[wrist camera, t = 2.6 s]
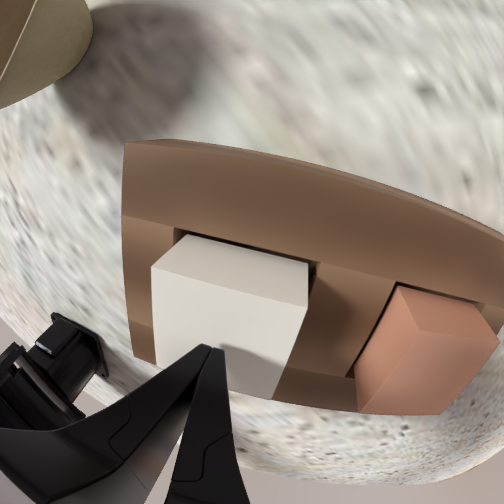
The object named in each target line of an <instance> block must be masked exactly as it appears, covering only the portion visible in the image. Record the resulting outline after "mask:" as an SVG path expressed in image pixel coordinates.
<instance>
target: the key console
mask: <svg viewBox="0 0 504 504" xmlns="http://www.w3.org/2000/svg"><path fill="white" fill-rule="evenodd" d="M121 225H122V257H123V274H124V286H125V297H126V306H127V314H128V322H129V329H130V336H131V342H132V348H133V354H134V357H137V358H139V359H141V360H144V361H146V362H149V363H151V364H154V365H156V366H157V364H156V354H155V343H154V330H153V314H152V289H151V266H152V265H153V264H154V263H156V262H157V261H158V260H159V259H160V258H161V257H162V256H163V255H164V254H165V253H166V252H168V251H169V250H170V249H171V248H172V247H173V246H174V245H175V244H176V243H178V242H179V241H180V240H181V239H182V238H183V237H184V236H185V235H187V234H188V235H192V236H197V237H201V238H205V239H209V240H213V241H217V242H221V243H226V244H230V245H234V246H238V247H242V248H246V249H250V250H255V251H259V252H263V253H267V254H271V255H275V256H279V257H283V258H288V259H292V260H296V261H300V262H304V263H308V308H307V311H306V314H305V317H304V319H303V322H302V325H301V327H300V330H299V333H298V335H297V338H296V340H295V343H294V346H293V348H292V351H291V353H290V356H289V358H288V360H287V363H286V365H285V368H284V370H283V373H282V375H281V377H280V380H279V382H278V384H277V387H276V389H275V391H274V394H273V396H272V398H271V400H275V401H280V402H285V403H291V404H296V405H302V406H308V407H315V408H322V409H329V410H338V411H347V412H358V403H357V392H356V383H355V374H354V365H355V363H356V361H357V360H358V358H359V357H360V355H361V353H362V351H363V350H364V348H365V346H366V345H367V343H368V341H369V339H370V338H371V336H372V334H373V332H374V330H375V328H376V327H377V325H378V323H379V321H380V319H381V317H382V315H383V313H384V311H385V309H386V307H387V305H388V303H389V301H390V299H391V297H392V295H393V293H394V291H395V288H396V286H397V285H398V286H402V287H406V288H410V289H414V290H418V291H422V292H426V293H431V294H435V295H439V296H443V297H447V298H451V299H455V300H459V301H463V302H467V303H471V304H474V305H475V307H476V308H477V309H478V311H479V312H480V313H481V315H482V316H483V318H484V319H485V320H486V322H487V323H488V325H489V326H490V328H491V329H492V331H493V332H494V333H495V335H497V334H498V332H499V331H500V329H501V327H502V326H503V324H504V235H503V234H501V233H500V232H498V231H496V230H494V229H492V228H490V227H488V226H486V225H484V224H482V223H480V222H478V221H476V220H473V219H471V218H469V217H467V216H465V215H463V214H460V213H458V212H456V211H453V210H451V209H449V208H446V207H444V206H442V205H439V204H437V203H434V202H432V201H429V200H427V199H424V198H421V197H419V196H416V195H413V194H411V193H408V192H405V191H402V190H400V189H397V188H394V187H391V186H388V185H385V184H382V183H379V182H376V181H373V180H369V179H366V178H363V177H360V176H356V175H353V174H350V173H346V172H343V171H339V170H335V169H332V168H328V167H324V166H320V165H316V164H312V163H308V162H304V161H300V160H296V159H291V158H287V157H282V156H278V155H273V154H268V153H263V152H258V151H252V150H247V149H241V148H235V147H229V146H223V145H216V144H209V143H202V142H194V141H186V140H177V139H158V140H146V141H135V142H126V143H125V148H124V160H123V176H122V208H121Z"/></svg>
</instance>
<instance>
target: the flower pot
mask: <svg viewBox="0 0 504 504" xmlns="http://www.w3.org/2000/svg"><path fill="white" fill-rule="evenodd" d="M92 34H93V22H92V18H91V15H90V12H89V9H88V7H87V4H86V2H85V0H0V109H2V108H4V107H7V106H9V105H11V104H14V103H16V102H18V101H20V100H22V99H24V98H26V97H28V96H30V95H32V94H34V93H36V92H38V91H40V90H42V89H44V88H45V87H47V86H49V85H50V84H52V83H54V82H55V81H57V80H59V79H60V78H62V77H63V76H65V75H66V74H68V73H69V72H70V71H71V70H73V69H74V68H75V67H76V65H77V64H78V63H79V62H80V60H81V59H82V58H83V56H84V54H85V53H86V51H87V49H88V47H89V44H90V41H91V38H92Z"/></svg>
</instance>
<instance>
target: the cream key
mask: <svg viewBox="0 0 504 504" xmlns="http://www.w3.org/2000/svg"><path fill="white" fill-rule="evenodd" d="M151 289H152V314H153V330H154V343H155V354H156V364H157V367H160V368H162V369H166V368H167V367H168V366H170V365H171V364H173V363H174V362H175V361H177V360H178V359H180V358H181V357H182V356H184V355H185V354H187V353H188V352H189V351H191V350H192V349H193V348H195V347H196V346H198V345H199V344H201V343H203V344H206V345H209V346H211V347H212V348H213V347H216V348H220V349H223V350H224V351H225V361H226V373H227V384H228V390H230V391H234V392H238V393H242V394H246V395H250V396H254V397H258V398H262V399H267V400H271V398H272V396H273V394H274V391H275V389H276V387H277V384H278V382H279V380H280V377H281V375H282V373H283V370H284V368H285V365H286V363H287V360H288V358H289V356H290V353H291V351H292V348H293V346H294V343H295V340H296V338H297V335H298V333H299V330H300V327H301V325H302V322H303V319H304V317H305V314H306V311H307V308H308V263H304V262H300V261H296V260H292V259H288V258H283V257H279V256H275V255H271V254H267V253H263V252H259V251H255V250H250V249H246V248H242V247H238V246H234V245H230V244H226V243H221V242H217V241H213V240H209V239H205V238H201V237H197V236H192V235H188V234H187V235H185V236H184V237H183V238H182V239H181V240H180V241H179V242H178V243H176V244H175V245H174V246H173V247H172V248H171V249H170V250H169V251H168V252H166V253H165V254H164V255H163V256H162V257H161V258H160V259H159V260H158V261H157V262H156V263H154V264H153V265H152V266H151Z"/></svg>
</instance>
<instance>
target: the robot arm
mask: <svg viewBox="0 0 504 504" xmlns="http://www.w3.org/2000/svg"><path fill="white" fill-rule="evenodd" d="M51 319H52V322H53V324H52V325H51V326H50V327H49V328H48V329H47V330H46V331H45V332H44V333H43V334H42V335H41V336H40V337H39V338H38V339H37V340H36V341H35V345H34V346H33V347H32V348H31V349H30V350H29V351H28V352H26V351H25V350H26V349H25V348H24V347H23V345H21V346H19V345H17V344H16V343H15V342H13V343H12V344H11V345H10V346H9V347H8V348H7V349H6V350H5V351H4V352H3V353H2V354H1V355H0V504H144V503H145V501H146V499H147V497H148V495H149V493H150V491H151V490H152V488H153V486H154V484H155V482H156V480H157V478H158V477H159V475H160V473H161V471H162V469H163V467H164V466H165V464H166V462H167V460H168V458H169V456H170V454H171V452H172V450H173V448H174V447H175V445H176V443H177V441H178V439H179V437H180V435H181V433H182V431H183V429H184V432H183V436H182V439H181V443H180V447H179V451H178V455H177V459H176V463H175V467H174V471H173V474H172V478H171V483H170V486H169V490H168V493H167V497H166V499H165V502H164V504H250V502H249V498H248V495H247V492H246V489H245V486H244V483H243V480H242V477H241V474H240V470H239V466H238V462H237V459H236V453H235V447H234V440H233V433H232V424H231V414H230V405H229V395H228V384H227V373H226V361H225V351H224V350H223V349H220V348H216V347H213V348H212V347H211V346H209V345H206V344H203V343H201V344H199V345H198V346H196V347H195V348H193V349H192V350H191V351H189V352H188V353H187V354H185V355H184V356H182V357H181V358H180V359H178V360H177V361H175V362H174V363H173V364H171V365H170V366H168V367H167V368H166V369H164V370H163V371H161V372H160V373H158V374H157V375H155V376H154V377H153V378H151V379H150V380H148V381H147V382H145V383H144V384H142V385H141V386H139V387H138V388H137V389H135V390H134V391H132V392H131V393H129V394H128V395H126V396H124V397H123V398H121V399H120V400H118V401H117V402H115V403H114V404H112V405H110V406H109V407H107V408H105V409H103V410H101V411H99V412H97V413H95V414H93V415H91V416H89V417H87V418H85V417H86V415H85V414H84V413H83V412H82V411H80V410H79V409H77V407H75V406H74V405H73V404H72V403H73V402H74V401H75V399H76V398H77V396H78V395H79V394H80V393H81V391H82V390H83V389H84V387H85V386H86V385H87V383H88V382H89V381H90V379H91V378H92V377H93V375H94V374H95V373H96V374H97V375H99V376H101V377H103V378H105V379H107V378H108V376H109V374H108V371H107V368H106V364H105V361H104V358H103V354H102V351H101V347H100V343H99V340H98V337H97V336H96V335H95V334H94V333H92V332H90V331H88V330H86V329H84V328H82V327H80V326H79V325H77V324H75V323H73V322H71V321H69V320H67V319H66V318H64V317H62V316H60V315H59V314H57V313H55V312H53V313H52V314H51ZM14 362H16V363H17V364H18V365H19V367H20V368H18V369H17V367H16V366H15V365H14Z"/></svg>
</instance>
